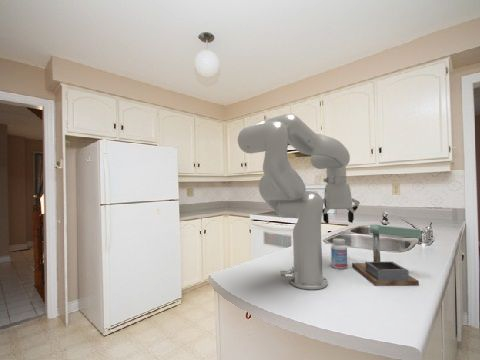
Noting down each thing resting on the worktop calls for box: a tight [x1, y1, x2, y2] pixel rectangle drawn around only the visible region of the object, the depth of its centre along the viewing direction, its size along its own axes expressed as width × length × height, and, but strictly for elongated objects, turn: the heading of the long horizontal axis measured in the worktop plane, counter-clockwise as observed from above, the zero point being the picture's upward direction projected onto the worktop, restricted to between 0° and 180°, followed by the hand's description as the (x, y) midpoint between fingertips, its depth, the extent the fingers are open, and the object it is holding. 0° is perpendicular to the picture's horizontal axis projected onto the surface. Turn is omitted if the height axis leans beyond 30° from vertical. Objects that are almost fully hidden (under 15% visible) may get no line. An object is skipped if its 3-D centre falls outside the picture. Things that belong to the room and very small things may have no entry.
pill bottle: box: [330, 237, 349, 270], centre depth 106 cm, size 6×6×11 cm
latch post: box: [372, 233, 381, 262], centre depth 103 cm, size 2×2×12 cm
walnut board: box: [351, 262, 420, 287], centre depth 95 cm, size 14×20×2 cm
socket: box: [364, 261, 409, 281], centre depth 90 cm, size 10×10×4 cm
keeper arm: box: [369, 223, 422, 239], centre depth 98 cm, size 17×4×3 cm, turn 39°
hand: (338, 222), depth 107 cm, fingers open, 9 cm apart
